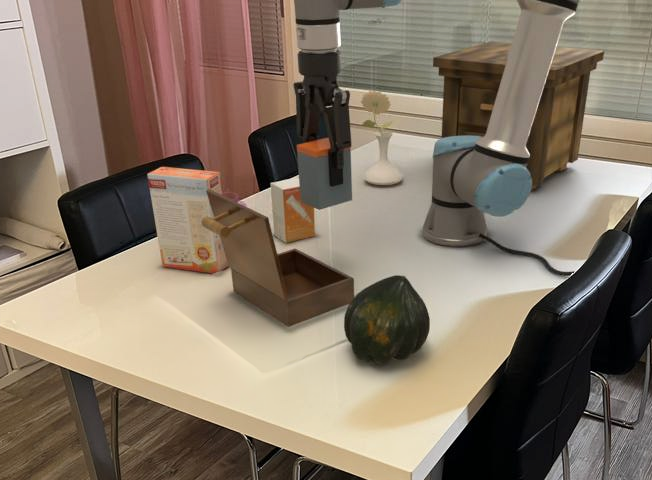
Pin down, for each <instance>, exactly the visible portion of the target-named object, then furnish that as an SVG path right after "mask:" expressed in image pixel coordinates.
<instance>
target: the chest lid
mask: <svg viewBox="0 0 652 480" xmlns="http://www.w3.org/2000/svg"><path fill="white" fill-rule="evenodd" d="M206 192H207V195H208V199H209V202H210V205H211V209H212V212H213V215H214V217H213V218H210V217H204V218H203V219H202V226H203V227H205V228H206V229H208V230H210V231H212V232H214V233H215V234H217V235H219V236H220V239H221V242H222V245H223V249H224V252H225V255H226V259H227V262H228V268H230V270H231V269H233V270H235V271H236V272H238V273H240V274H241V275H243V276H245V277H246V278H248V279H250V280H251V281H253V282H255V283H256V284H258V285H260V286H261V287H263V288H265V289H266V290H268V291H270V292H271V293H273V294H275V295H276V296H278V297H280V298H281V299H283V300H285V301H286V300H287V299H288V295H287V291H286V287H285V283H284V279H283V275H282V271H281V267H280V263H279V259H278V255H277V254H278V251H277V248H276V243H275V238H274V236H273V235H274V234H273V232H272V227H271V223H270V219H269V217H268V216H267V215H264V214H262V213H260V212H258V211H256V210H254V209H252V208H250V207H248V206H247V205H246V206H244V204H243V205H241V204H240V203H239V202H238V203H237V202H235V201H233V200H234V199H233V200H231V199H232V198H229V197H228V196H225V195H223V194H222V195H221V194H219V193H217V192H214V191H212V190H210V189H209V190H207V191H206Z"/></svg>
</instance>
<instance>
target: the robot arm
mask: <svg viewBox="0 0 652 480" xmlns="http://www.w3.org/2000/svg"><path fill="white" fill-rule="evenodd" d="M402 1H403V0H293V5H294V17H295V18H294V19H295V29H296V30H295V31H296V47H297V48H298V50H299V51H298V52H297V68H298V73H299V75H301V76H303V80H302V81H296V82H293V89H294V90H293V91H294V95H295V115H296V117H295V118H296V119H295V120H296V135H297V137H298V138H302V141H303V143H307V142H311V141H315V140H320V139H321V137H320V136H318V133H319V126H320V119H321V114H322V115H323V120H324V124H325V129H326V133H327V138H329V142H330V147H331V149H328V161H329V182H330V186H331V187H333V186H337V185H340V184H343V167H344V153H343V152H344V149H347V148H350V147H351V148H352V146H353V145H352V132H351V119H350V105H349V104H350V98H351V93H350V91H349V90H343V89H342V88H340V85H339V81H338V75H339V74H340V73H341V72H342V52H341V51H340V50H339V48H340V47H341V46H342V44H341V43H342V41H341V24H340V23H341V22H340V11H347V10H359V9H378V8H379V9H380V8H381V9H385V8H388V7H394V6H395V7H396V6H398V5H399V4H401V2H402ZM516 2H517V4H518V7H519V8H520V14H519V17H518V21H517V25H516V28H515V32H514V35H513V37H512V40H511V41H512V42H511V43H512V45H511V48H510V52H509V55H508V59H507V62H506V66H505V69H504V73H503V76H502V80H501V83H500V87H499V90H498V93H497V97H496V100H495V104H494V107H493V111H492V114H491V118H490V121H489V125H488V128H487V132H486V135H485V136H484V137H481V136H469V135H467V136H451V137H445V138H441V137H440V138H439V139H437V140H436V141H435V143H434V145H433V151H432V182H431V203H430V206H429V208H428V210H427V211H428V212H427V214H426V217H425V219H424V222H423V225H422V237H423V238H424V239H425V240H426V241H428V242H430V243H433V244H435V245H439V246H444V247H452V248H453V247H454V248H455V247H457V248H460V247H461V248H462V247H470V246H475V245H478V244H481V243H483V242H484V241H486V242H487V243H489V244H492V245H493V246H494V247H496V248H498V249H499V250H501V251H503V252H505V253H510V254H513V255H519V256H524V257H525V256H526V257H531V258H535V259H537V260H539V261H541V262H542V264H543V265H544V266H545V267H546V269H547V270H548V271H550V273H552V274H555V275H558V276H563V277H571V276H570V275H571V274H572V273H574V272H575V271H576V270H572V271H563V270H562V271H561V270H558V269H556V268H555V267H553V266H552V265H551V263H549V261H548V260H547V259H546V258H545V257H543V256H542V255H540V254H537V253H534V252H530V251H525V250H519V249H512V248H509V247H507V246H504V245H502V244H500V243H499V242H498V241H495V240H494V239H492V238H491V237H489V236H488V225H487V222H486V217H485V214H487V215H490V216H492V217H497V218H498V217H499V218H500V217H506V216H509V215H512V214H513V213H515V211H517V210H520V208H521V207H522V206H523V205H524V204H525V203H526V201H527V200H528V198H529V196H530V194H531V191H532V190H531V188H532V178H531V177H530V173H529V171H528V170H527V168H526V167H527V164H528V161H529V157H530V154H529V152H528V150H527V148H526V142H527V139H528V136H529V133H530V130H531V126H532V123H533V120H534V117H535V114H536V110H537V107H538V104H539V101H540V98H541V94H542V91H543V88H544V85H545V82H546V78H547V75H548V72H549V69H550V65H551V62H552V59H553V56H554V53H555V49H556V47H558V43H559V40H560V38H561V37H560V36H561V33H562V30H563V27H564V23H565V22H566V21H567V20H568V19H569V18H571V17H573V16H574V15H575V14H576V12H577V9H578V6H579V3H580V0H516ZM336 142H337V144H336Z"/></svg>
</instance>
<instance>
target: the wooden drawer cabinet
mask: <svg viewBox="0 0 652 480" xmlns="http://www.w3.org/2000/svg"><path fill="white" fill-rule="evenodd" d="M511 45H512V42H503V41H492V40H491V41H488V42H483V43H481V44H478V45H473V46H470V47H466V48H463V49H459V50H455V51H452V52H449V53H444V54H441V55H437V56H433V57H432V60H433V61H432V67H433V68H438V76H439V77H443V95H442V115H441V116H442V118H441V137H440V139H441V138H445V137H451V136H467V135H469V136H481V137H484V136H485V135H486V132H487V128H488V125H489V121H490V118H491V114H492V111H493V107H494V104H495V100H496V97H497V93H498V90H499V87H500V83H501V80H502V76H503V73H504V69H505V66H506V62H507V59H508V55H509V52H510V48H511ZM604 57H605V50H600V49H599V50H598V49H597V50H596V49H586V48H576V47H575V48H573V47H564V46H563V47H561V46H556V49H555V53H554V56H553V59H552V62H551V65H550V69H549V72H548V75H547V78H546V82H545V85H544V88H543V91H542V94H541V98H540V101H539V104H538V107H537V110H536V114H535V117H534V120H533V123H532V126H531V130H530V133H529V136H528V139H527V142H526V148H527V150H528V152H529V154H530V157H529V161H528V164H527V167H526V168H527V170H528V171H529V173H530V177H531V178H532V188H531V191H533V190H534V189H536V188H538V187H539V185H540V184H542V183H544V182H545V178H546V177H548V176H549V175H551V174H552V173H554V172H560V173H561V172H562V171H563V170H565V169H567V167H568V163H569V164H573V163H575V162H577V160H578V159H579V155H580V154H579V153H580V146H581V138H582V132H583V126H584V118H585V112H586V106H587V98H588V92H589V84H590V79H591V72H593V71H595V70H597V68H598V67H597V66H598V63H600V62H602V61H604Z"/></svg>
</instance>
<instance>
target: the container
mask: <svg viewBox="0 0 652 480" xmlns="http://www.w3.org/2000/svg"><path fill="white" fill-rule="evenodd" d="M336 144H337V142H336ZM328 149H331V147H330V142H329V138H328V137H325V138H324V137H323V138H320V139H319V140H315V141H311V142H307V143H305V142H303V143H299V144H296V155H297V156H296V158H297V169H298V177H299V185H300V199H301V202H302V203H304V204H306V205H309V206H311V207H313V208H314V209H316V210H319V211H321V210H325V209H327V208H330V207H331V208H332V207H334V206H337V205H340V204H341V205H342V204H344V203H347V202H351V201H353V181H352V151H351V149H352V146H351V147H350V148H347V149H344V152H343V153H344V167H343V184H340V185H337V186H333V187H331V186H330V182H329V161H328Z"/></svg>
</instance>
